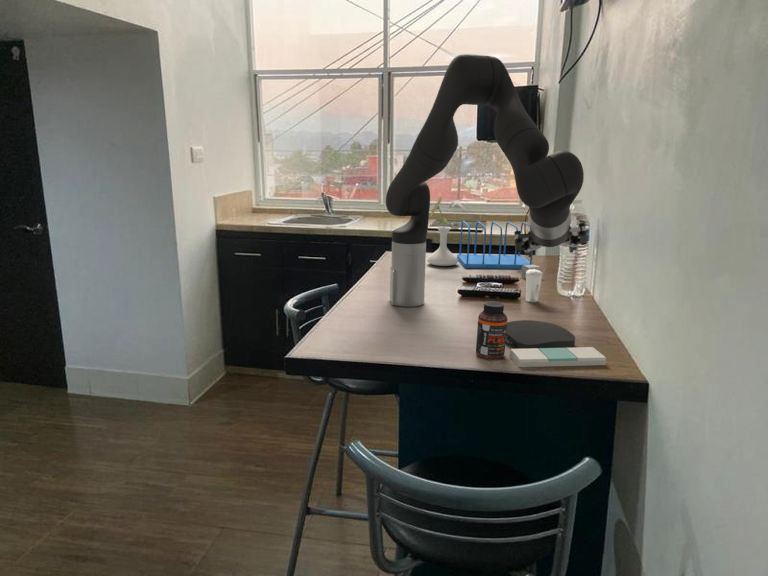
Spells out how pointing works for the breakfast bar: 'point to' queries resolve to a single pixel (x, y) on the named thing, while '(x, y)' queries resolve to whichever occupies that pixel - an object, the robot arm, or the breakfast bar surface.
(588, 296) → the breakfast bar surface
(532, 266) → the usb wall charger
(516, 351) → the key strip
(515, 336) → the media streaming box
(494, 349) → the supplement bottle
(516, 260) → the file sorter
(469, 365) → the breakfast bar surface
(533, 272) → the milkshake
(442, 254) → the flower in vase
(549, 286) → the breakfast bar surface
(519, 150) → the robot arm
